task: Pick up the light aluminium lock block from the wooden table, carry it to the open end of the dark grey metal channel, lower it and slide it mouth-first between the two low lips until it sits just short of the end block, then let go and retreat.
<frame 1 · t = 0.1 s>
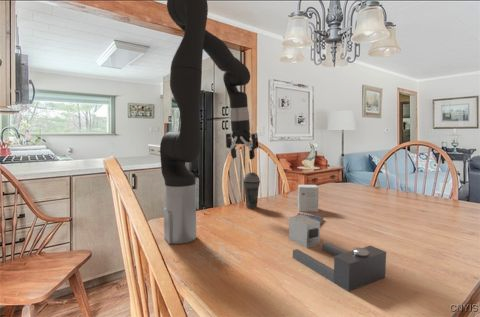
hand: (242, 158, 114), 22 cm above the table, tool pointing down, fingers open, 8 cm apart
lock block: (303, 241, 84), on the table
beverage cup: (251, 207, 123), on the table
small box: (307, 210, 118), on the table
woven mat: (307, 223, 103), on the table
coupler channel: (329, 263, 70), on the table
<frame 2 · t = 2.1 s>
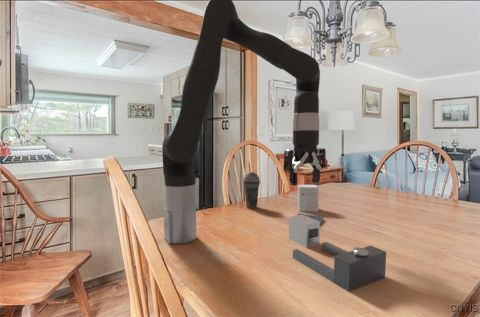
hand: (304, 183, 82), 18 cm above the table, tool pointing down, fingers open, 8 cm apart
nothing on the table moved.
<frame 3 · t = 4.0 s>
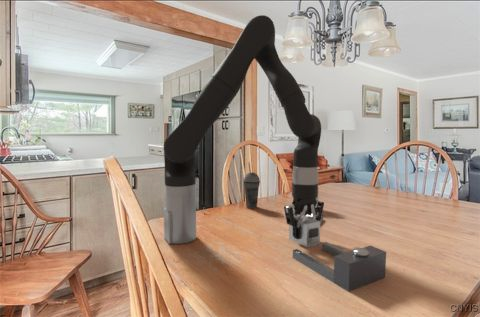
hand: (303, 236, 84), 1 cm above the table, tool pointing down, fingers closed on lock block, 5 cm apart
lock block: (303, 241, 84), on the table, touching gripper
everything else where it was.
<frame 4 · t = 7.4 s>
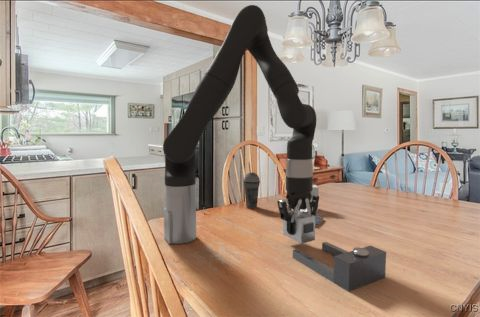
hand: (298, 232, 80), 4 cm above the table, tool pointing down, fingers closed on lock block, 5 cm apart
lock block: (298, 237, 80), point 3 cm above the table, touching gripper
everything else where it was.
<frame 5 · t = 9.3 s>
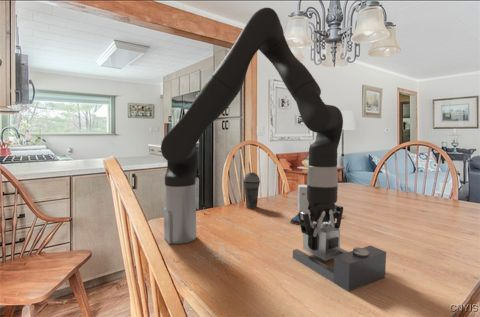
hand: (320, 246, 72), 3 cm above the table, tool pointing down, fingers closed on lock block, 5 cm apart
lock block: (320, 252, 73), point 1 cm above the table, touching gripper
everything else where it was.
when the fingers open (3 cm above the table, at t = 10.8 s): lock block drops 1 cm, resting in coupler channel.
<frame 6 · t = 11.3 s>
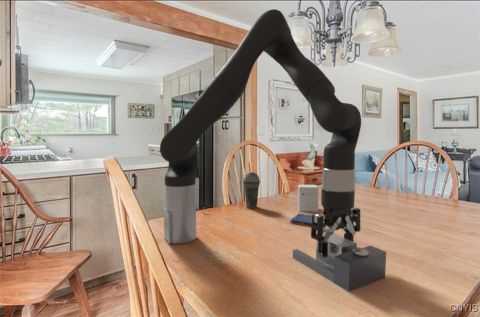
hand: (335, 252, 67), 4 cm above the table, tool pointing down, fingers open, 8 cm apart
lock block: (335, 266, 68), resting in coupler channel
everything else where it was.
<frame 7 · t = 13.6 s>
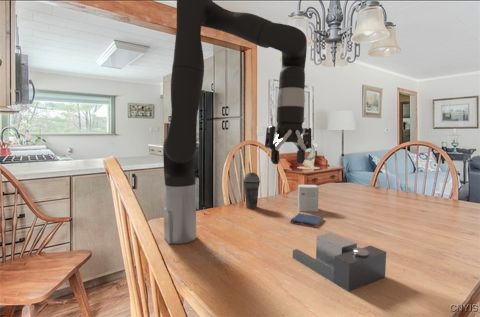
hand: (287, 163, 79), 24 cm above the table, tool pointing down, fingers open, 8 cm apart
nothing on the table moved.
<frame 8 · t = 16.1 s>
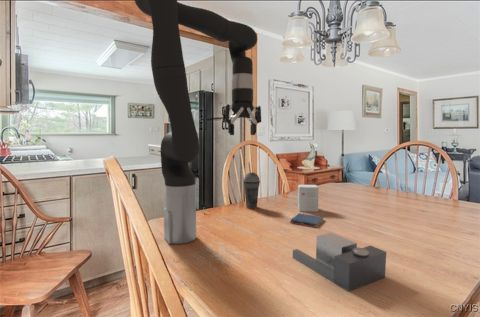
hand: (242, 135, 98), 32 cm above the table, tool pointing down, fingers open, 8 cm apart
nothing on the table moved.
at the end: lock block inside the target area on the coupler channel (0.4 cm from its centre), point 0.0 cm above the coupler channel's base; lock block tilted 0°; the gripper is holding nothing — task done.
